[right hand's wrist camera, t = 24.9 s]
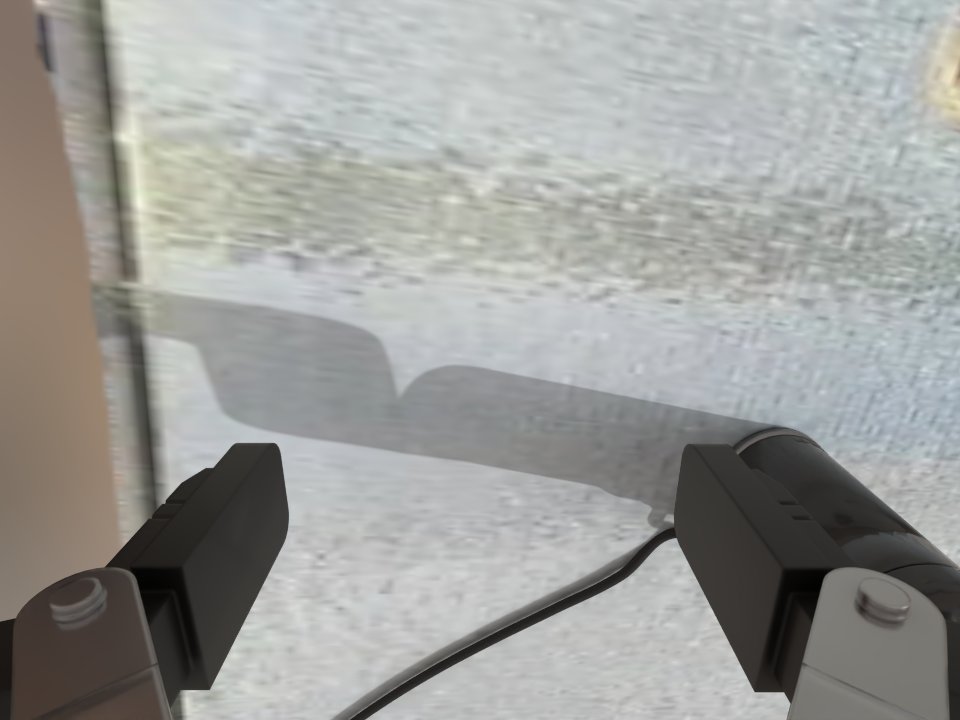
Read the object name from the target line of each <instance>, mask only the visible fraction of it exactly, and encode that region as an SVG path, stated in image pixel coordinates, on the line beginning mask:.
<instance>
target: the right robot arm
mask: <svg viewBox="0 0 960 720" xmlns="http://www.w3.org/2000/svg"><path fill="white" fill-rule="evenodd" d="M288 523H289V510H288V502H287V495H286V488H285V481H284V474H283V466H282V459H281V453H280V450H279V447H278V446H277V444H275V443H236V444H234V445H233V446H232V447H231V448H230V449H229V450H228V451H227V453H226V454H225V455H224V456H223V457H222V459H221V460H220V461H219V462H218V463H217V464H216V466H215V467H214V468H205V469H204V470H202V471H200V472H199V473H197V474H196V475H194V476H192V477H191V478H189V479H187V480H186V481H184V482H182V483H181V484H180V485H179V486H178V487H177V489H176V490H175V491H174V492H173V493H172V494H171V495H170V496H169V497H168V498H167V500H166V503H165V504H162V505H161V506H160V507H159V508H158V509H157V511H156V512H155V513H154V514H153V515H152V519H148V520H147V522H146V523H145V524H144V525H143V526H142V527H141V528H140V529H139V530H138V531H137V532H136V534H135V535H134V536H133V537H132V538H131V539H130V540H129V541H128V542H127V543H126V545H125V546H124V547H123V548H122V549H121V550H120V551H119V552H118V553H117V554H116V556H115V557H114V558H113V559H112V560H111V561H110V562H109V563H108V564H107V565H106V566H105V567H104V568H96V569H91V570H87V571H83V572H80V573H77V574H74V575H71V576H69V577H66V578H64V579H62V580H60V581H58V582H56V583H54V584H52V585H50V586H49V587H47V588H45V589H44V590H42V591H41V592H39V593H38V594H37V595H36V596H34V597H33V598H32V599H31V600H30V601H28V603H27V604H26V605H25V606H24V607H23V608H22V609H21V611H20V612H19V613H18V615H17V617H16V618H15V619H11V620H6V621H1V622H0V720H173V716H172V712H171V709H170V708H171V706H172V705H173V703H174V701H175V699H176V697H177V696H178V694H179V692H180V690H210V688H211V686H212V684H213V682H214V680H215V678H216V676H217V675H218V673H219V671H220V669H221V667H222V665H223V663H224V661H225V659H226V657H227V655H228V653H229V651H230V649H231V647H232V645H233V643H234V641H235V639H236V637H237V635H238V633H239V631H240V629H241V627H242V625H243V623H244V621H245V619H246V617H247V615H248V613H249V611H250V609H251V607H252V605H253V603H254V601H255V599H256V597H257V595H258V593H259V591H260V590H261V588H262V586H263V584H264V582H265V580H266V578H267V576H268V574H269V572H270V570H271V568H272V566H273V564H274V562H275V560H276V558H277V556H278V554H279V552H280V550H281V548H282V546H283V544H284V542H285V539H286V535H287V531H288ZM674 525H675V528H673V529H668V530H666V531H664V532H662V533H660V534H659V535H657V536H656V537H654V538H653V539H652V540H651V541H649V542H648V543H647V544H646V545H645V546H644V547H643V548H642V549H641V550H640V551H639V552H638V553H637V554H636V556H635V557H634V558H633V559H632V560H631V561H630V562H629V563H628V564H627V565H626V566H625V567H623V568H622V569H621V570H619V571H618V572H617V573H615V574H613V575H612V576H610V577H608V578H606V579H604V580H603V581H601V582H599V583H597V584H595V585H593V586H591V587H589V588H587V589H585V590H583V591H580V592H578V593H576V594H574V595H572V596H570V597H567V598H565V599H563V600H561V601H559V602H557V603H555V604H553V605H551V606H549V607H547V608H545V609H543V610H541V611H539V612H536V613H534V614H532V615H530V616H528V617H526V618H524V619H522V620H520V621H518V622H516V623H514V624H512V625H510V626H508V627H506V628H504V629H502V630H500V631H498V632H496V633H494V634H492V635H490V636H488V637H486V638H484V639H482V640H480V641H478V642H476V643H474V644H473V645H471V646H469V647H467V648H465V649H463V650H461V651H459V652H457V653H455V654H454V655H452V656H450V657H448V658H446V659H445V660H443V661H441V662H439V663H437V664H436V665H434V666H432V667H430V668H429V669H427V670H425V671H424V672H422V673H420V674H419V675H417V676H415V677H414V678H412V679H410V680H409V681H407V682H405V683H404V684H402V685H401V686H399V687H397V688H396V689H394V690H393V691H391V692H390V693H388V694H387V695H385V696H384V697H382V698H381V699H379V700H378V701H376V702H375V703H373V704H372V705H370V706H369V707H367V708H366V709H364V710H363V711H361V712H360V713H359V714H357V715H356V716H354V717H353V718H352V719H350V720H365V719H367V718H368V717H370V716H371V715H372V714H374V713H375V712H377V711H378V710H380V709H381V708H383V707H384V706H386V705H388V704H389V703H391V702H392V701H394V700H395V699H397V698H398V697H400V696H402V695H403V694H405V693H406V692H408V691H410V690H411V689H413V688H414V687H416V686H418V685H420V684H421V683H423V682H425V681H426V680H428V679H430V678H432V677H433V676H435V675H437V674H438V673H440V672H442V671H444V670H446V669H447V668H449V667H451V666H453V665H455V664H457V663H458V662H460V661H462V660H464V659H466V658H468V657H470V656H472V655H474V654H476V653H478V652H479V651H481V650H483V649H485V648H487V647H489V646H491V645H493V644H495V643H497V642H499V641H501V640H503V639H505V638H507V637H509V636H511V635H513V634H515V633H517V632H519V631H521V630H523V629H526V628H528V627H530V626H532V625H534V624H536V623H538V622H540V621H542V620H544V619H546V618H548V617H550V616H552V615H554V614H556V613H559V612H561V611H563V610H565V609H567V608H569V607H571V606H573V605H576V604H578V603H580V602H582V601H584V600H586V599H589V598H591V597H593V596H595V595H597V594H599V593H601V592H603V591H605V590H607V589H609V588H610V587H612V586H614V585H616V584H618V583H619V582H621V581H622V580H624V579H625V578H627V577H628V576H629V575H631V574H632V573H633V572H634V571H635V570H636V569H637V568H638V567H639V566H640V565H641V564H642V563H643V562H644V560H645V559H646V558H647V557H648V556H649V555H650V554H651V553H652V552H653V551H654V550H655V549H656V548H657V547H658V546H659V545H660V544H662V543H663V542H665V541H667V540H669V539H673V538H677V540H678V543H679V545H680V547H681V549H682V551H683V553H684V555H685V557H686V559H687V561H688V563H689V565H690V567H691V569H692V571H693V573H694V574H695V576H696V578H697V580H698V582H699V584H700V586H701V588H702V590H703V592H704V594H705V596H706V598H707V600H708V602H709V604H710V606H711V608H712V610H713V612H714V614H715V616H716V617H717V619H718V621H719V623H720V625H721V627H722V629H723V631H724V633H725V635H726V637H727V639H728V641H729V643H730V645H731V647H732V649H733V651H734V653H735V655H736V657H737V658H738V660H739V662H740V664H741V666H742V668H743V670H744V672H745V674H746V676H747V678H748V680H749V682H750V684H751V686H752V688H753V690H754V692H784V693H785V695H786V696H787V698H788V700H789V702H790V703H791V705H790V709H789V712H788V716H787V720H960V567H958V566H957V565H956V564H955V563H954V562H953V561H951V560H950V559H949V558H948V557H947V556H946V555H944V554H943V553H942V552H941V551H940V550H939V549H938V548H936V547H935V546H934V545H933V544H931V543H930V542H929V541H928V540H927V539H926V538H925V537H923V536H922V535H921V534H920V533H919V532H918V531H917V530H915V529H914V528H913V527H912V526H911V525H910V524H908V523H907V522H906V521H905V520H904V519H903V518H901V517H900V516H899V515H898V514H897V513H896V512H894V511H893V510H892V509H891V508H890V507H889V506H887V505H886V504H885V503H884V502H883V501H882V500H880V499H879V498H878V497H877V496H876V495H875V494H873V493H872V492H871V491H870V490H869V489H868V488H866V487H865V486H864V485H863V484H862V483H861V482H859V481H858V480H857V479H856V478H855V477H854V476H852V475H851V474H850V473H849V472H848V471H847V470H845V469H844V468H843V467H842V466H841V465H840V464H838V463H837V462H836V461H835V460H834V459H833V458H831V457H830V456H829V455H828V454H827V453H826V452H825V451H824V450H823V449H822V448H821V447H820V446H819V445H818V444H817V443H816V442H815V441H813V440H812V439H811V438H810V437H808V436H807V435H805V434H803V433H801V432H799V431H796V430H792V429H785V428H777V429H768V430H764V431H761V432H758V433H755V434H753V435H751V436H749V437H747V438H745V439H744V440H742V441H741V442H740V443H738V444H737V445H736V446H735V447H734V448H732V447H731V446H730V445H728V444H688V445H686V447H685V448H684V451H683V455H682V461H681V468H680V475H679V482H678V489H677V496H676V503H675V510H674Z"/></svg>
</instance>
